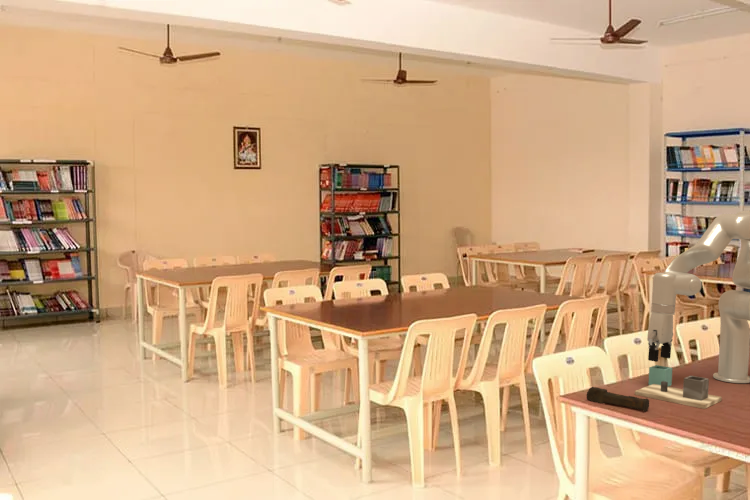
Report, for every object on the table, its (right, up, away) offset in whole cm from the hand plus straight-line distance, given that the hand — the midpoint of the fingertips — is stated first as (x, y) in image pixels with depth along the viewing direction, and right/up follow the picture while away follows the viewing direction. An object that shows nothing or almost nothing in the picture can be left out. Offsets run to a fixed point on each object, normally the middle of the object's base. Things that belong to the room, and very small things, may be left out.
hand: (659, 359), depth 254 cm
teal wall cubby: (+1, -9, +1) cm, 9 cm away
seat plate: (0, -10, -15) cm, 18 cm away
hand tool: (-23, -11, -26) cm, 37 cm away
